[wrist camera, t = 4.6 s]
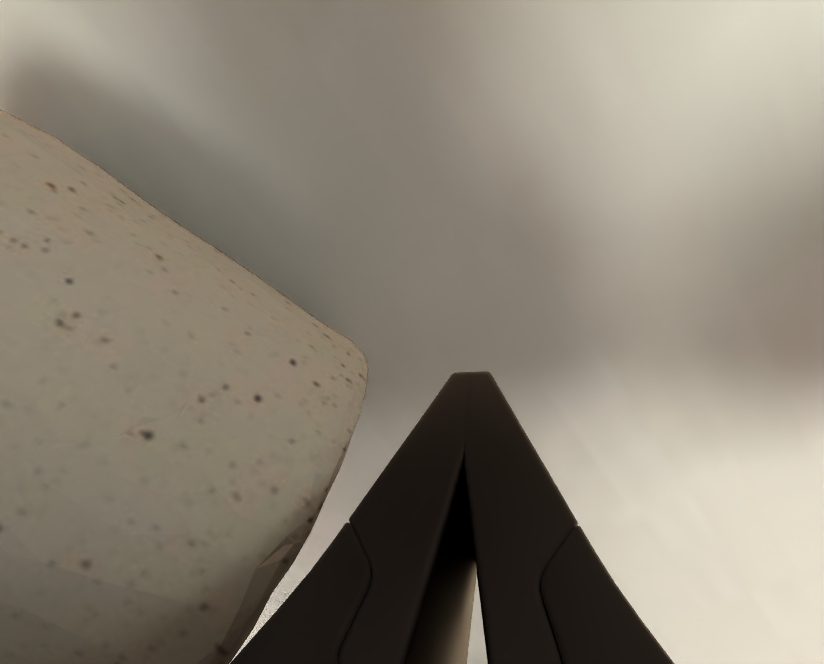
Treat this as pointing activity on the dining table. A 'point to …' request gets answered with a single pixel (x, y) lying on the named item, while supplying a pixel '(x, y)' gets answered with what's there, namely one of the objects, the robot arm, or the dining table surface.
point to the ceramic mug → (147, 423)
